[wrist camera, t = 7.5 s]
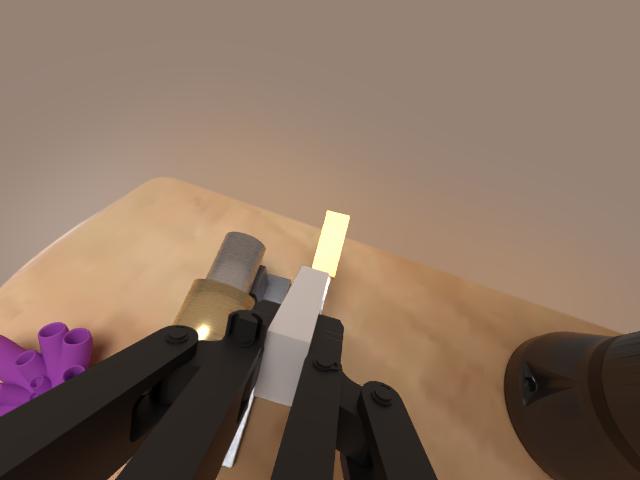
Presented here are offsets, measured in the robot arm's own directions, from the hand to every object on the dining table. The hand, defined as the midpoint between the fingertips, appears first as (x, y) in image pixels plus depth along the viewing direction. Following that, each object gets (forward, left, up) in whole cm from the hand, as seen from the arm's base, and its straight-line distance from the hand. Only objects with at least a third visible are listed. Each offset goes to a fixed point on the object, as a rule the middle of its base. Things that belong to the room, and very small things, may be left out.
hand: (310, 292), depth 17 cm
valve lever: (-3, +2, -11) cm, 12 cm away
